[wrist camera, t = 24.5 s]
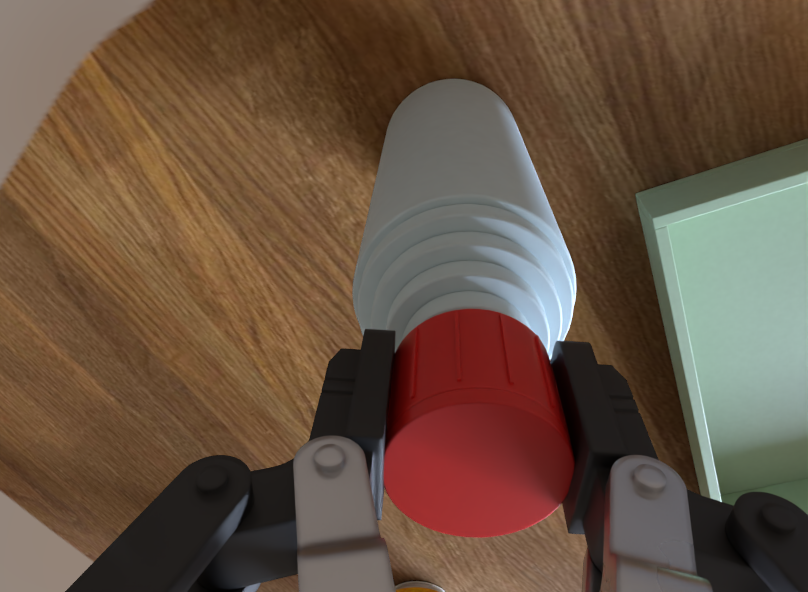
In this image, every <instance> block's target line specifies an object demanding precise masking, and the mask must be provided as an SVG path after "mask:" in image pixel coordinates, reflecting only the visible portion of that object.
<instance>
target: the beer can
mask: <svg viewBox="0 0 808 592" xmlns="http://www.w3.org/2000/svg"><path fill="white" fill-rule="evenodd" d="M395 590H396V592H445V591H444V590H443V589H442V588H440V587H438V586H437V585H434V584H431V583H428V582H422V581H410V582H405V583H401V584H399V585H397V586H395Z"/></svg>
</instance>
